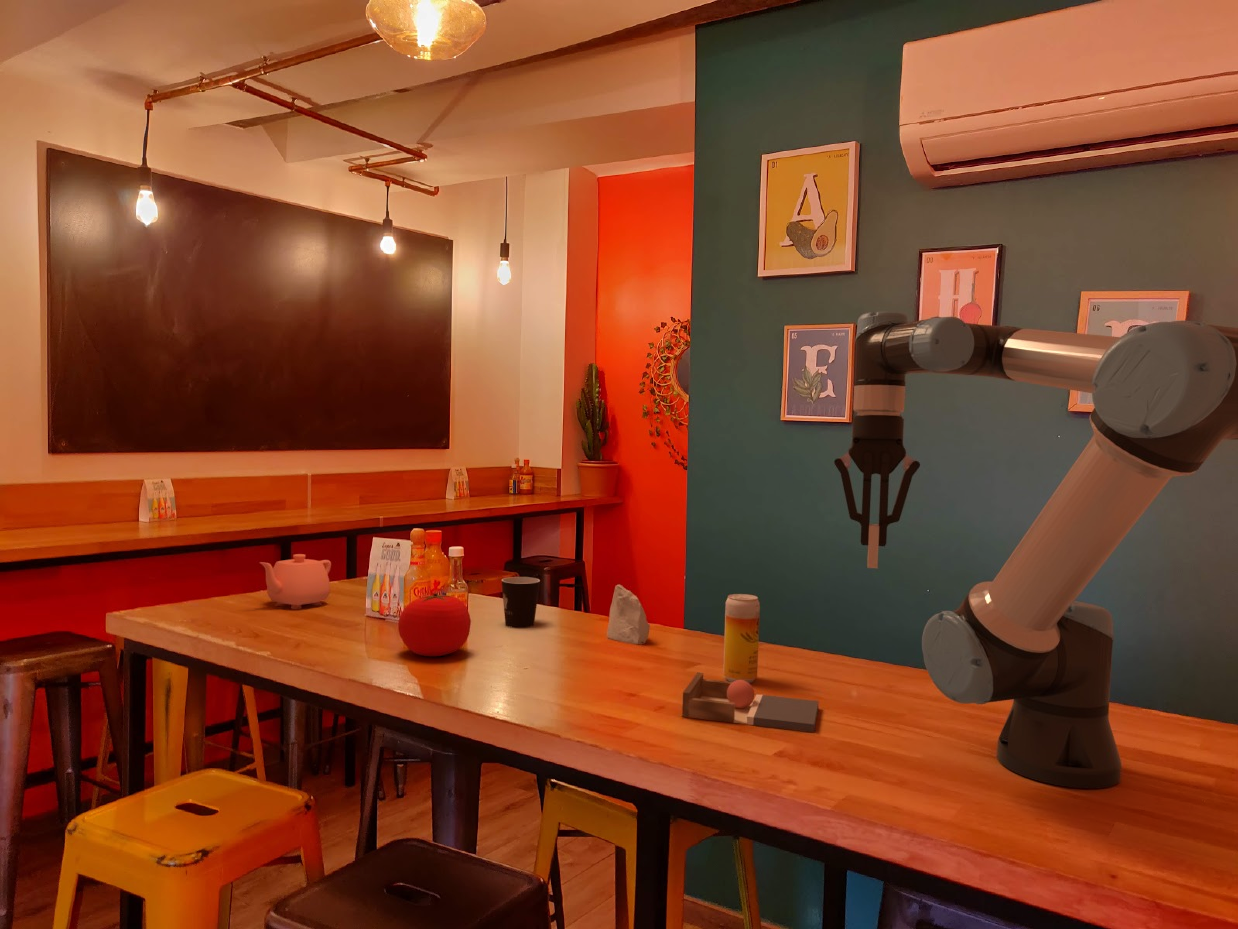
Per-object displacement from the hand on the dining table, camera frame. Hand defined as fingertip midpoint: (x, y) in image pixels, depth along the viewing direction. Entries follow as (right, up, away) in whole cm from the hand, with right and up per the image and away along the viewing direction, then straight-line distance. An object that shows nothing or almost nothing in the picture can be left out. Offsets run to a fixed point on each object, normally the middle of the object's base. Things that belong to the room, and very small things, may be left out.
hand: (872, 566), depth 135 cm
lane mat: (-18, -24, +4) cm, 30 cm away
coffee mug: (-62, -20, +62) cm, 90 cm away
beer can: (-17, -23, +22) cm, 37 cm away
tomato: (-75, -21, +34) cm, 85 cm away
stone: (-37, -22, +50) cm, 66 cm away
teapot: (-117, -18, +74) cm, 140 cm away
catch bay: (-24, -23, +5) cm, 34 cm away
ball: (-20, -21, +5) cm, 29 cm away
